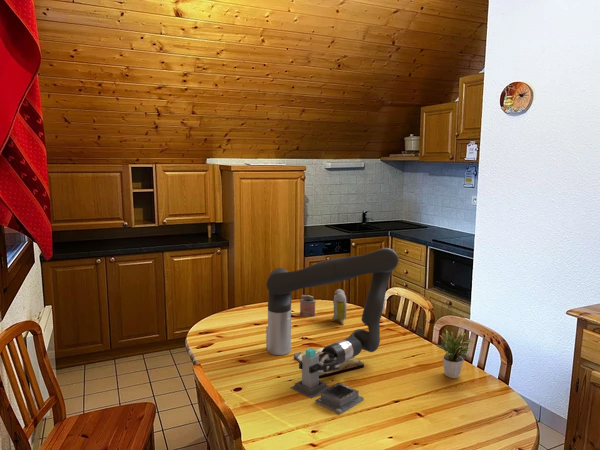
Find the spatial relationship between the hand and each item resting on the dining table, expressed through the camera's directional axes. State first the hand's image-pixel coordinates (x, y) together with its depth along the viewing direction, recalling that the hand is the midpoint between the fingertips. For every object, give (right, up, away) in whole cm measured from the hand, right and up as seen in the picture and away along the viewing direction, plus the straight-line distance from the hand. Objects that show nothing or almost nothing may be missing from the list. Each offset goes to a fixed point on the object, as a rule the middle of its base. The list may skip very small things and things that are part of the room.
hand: (304, 368), depth 152 cm
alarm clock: (+16, +1, +68) cm, 70 cm away
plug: (+2, -7, +3) cm, 8 cm away
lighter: (+2, +2, +77) cm, 77 cm away
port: (+11, -9, -6) cm, 15 cm away
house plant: (+53, -7, +12) cm, 55 cm away
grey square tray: (+2, -8, +3) cm, 9 cm away
